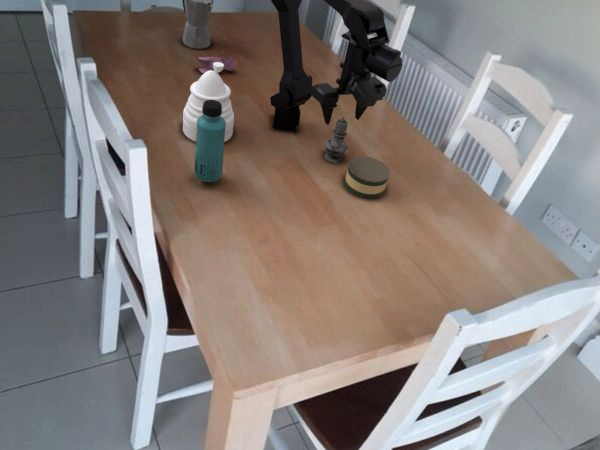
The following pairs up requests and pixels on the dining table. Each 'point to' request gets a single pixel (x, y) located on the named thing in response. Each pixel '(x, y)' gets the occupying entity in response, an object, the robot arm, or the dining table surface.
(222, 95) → the honey pot
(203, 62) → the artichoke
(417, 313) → the dining table surface
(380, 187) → the tin
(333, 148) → the grey stone figurine
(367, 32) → the robot arm
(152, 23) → the dining table surface
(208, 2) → the coffeepot
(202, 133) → the beverage bottle
